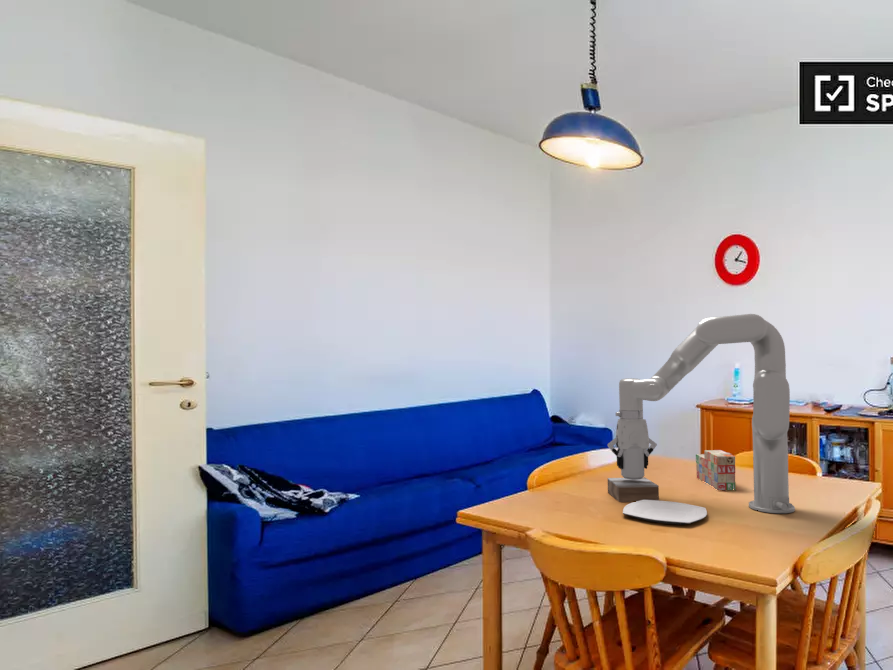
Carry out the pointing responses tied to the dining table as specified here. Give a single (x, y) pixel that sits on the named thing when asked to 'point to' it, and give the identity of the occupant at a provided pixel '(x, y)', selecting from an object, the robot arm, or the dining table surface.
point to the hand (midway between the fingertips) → (632, 467)
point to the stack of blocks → (716, 469)
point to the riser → (632, 489)
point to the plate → (665, 511)
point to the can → (633, 463)
